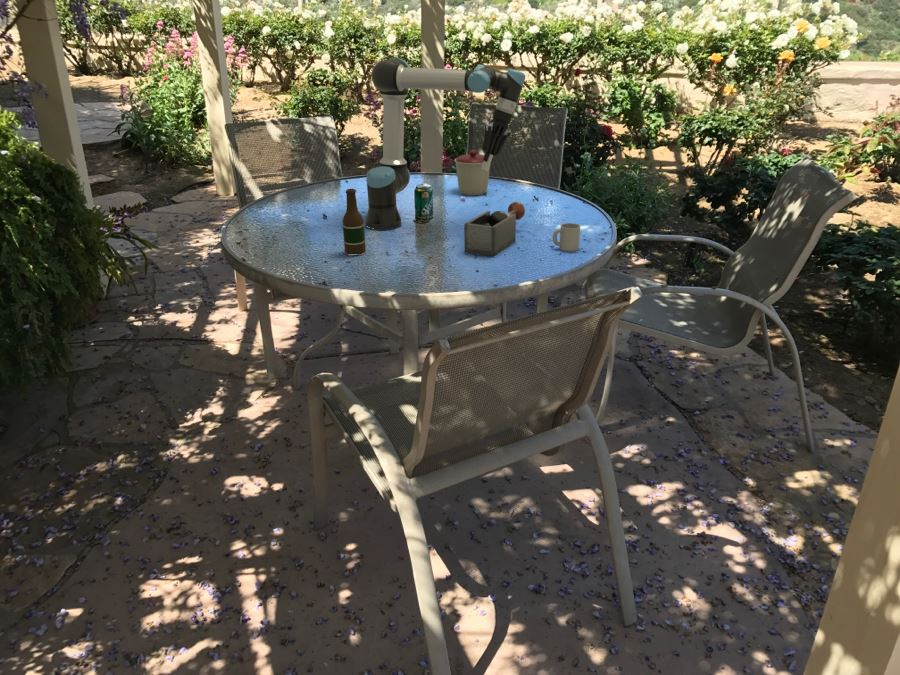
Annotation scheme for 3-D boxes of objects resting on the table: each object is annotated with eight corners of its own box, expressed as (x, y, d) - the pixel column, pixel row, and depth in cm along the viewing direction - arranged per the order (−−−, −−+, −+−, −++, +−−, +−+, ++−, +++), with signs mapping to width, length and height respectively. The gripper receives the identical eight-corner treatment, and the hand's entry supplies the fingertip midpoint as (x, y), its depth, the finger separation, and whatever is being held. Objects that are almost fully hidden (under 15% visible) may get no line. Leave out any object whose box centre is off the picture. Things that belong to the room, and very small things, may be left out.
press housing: (487, 238, 278) (487, 210, 273) (515, 241, 272) (516, 214, 268) (464, 252, 262) (464, 223, 257) (493, 256, 256) (494, 227, 252)
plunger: (507, 219, 287) (508, 199, 284) (525, 221, 284) (526, 201, 280) (488, 230, 273) (489, 210, 269) (507, 233, 269) (508, 212, 266)
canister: (447, 195, 342) (446, 151, 333) (467, 187, 356) (467, 145, 347) (479, 199, 333) (479, 154, 324) (498, 191, 346) (498, 148, 337)
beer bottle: (355, 248, 268) (351, 186, 258) (370, 252, 264) (365, 188, 254) (340, 253, 263) (335, 190, 253) (355, 257, 258) (350, 193, 248)
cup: (580, 251, 260) (581, 228, 256) (553, 252, 260) (554, 228, 257) (577, 245, 267) (578, 223, 263) (551, 246, 267) (552, 223, 263)
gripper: (499, 109, 267) (479, 169, 274) (521, 117, 276) (501, 175, 283) (486, 104, 272) (467, 164, 279) (508, 112, 281) (489, 170, 288)
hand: (484, 169), depth 281 cm, fingers closed
